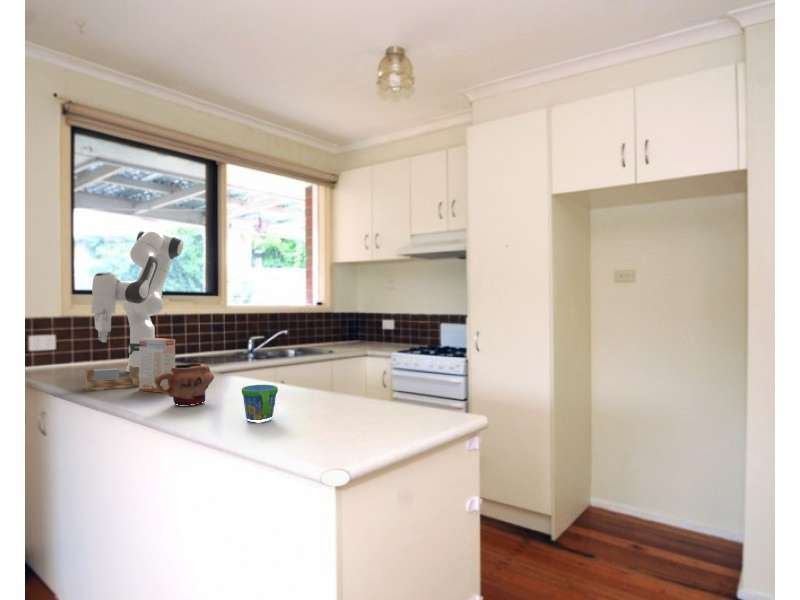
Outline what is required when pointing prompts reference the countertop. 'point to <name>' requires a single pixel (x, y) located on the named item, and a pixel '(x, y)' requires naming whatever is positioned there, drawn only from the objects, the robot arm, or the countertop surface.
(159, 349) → the cracker box
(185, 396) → the brown mug
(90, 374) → the track frame
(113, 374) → the door panel
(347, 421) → the countertop surface
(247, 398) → the snack cup
